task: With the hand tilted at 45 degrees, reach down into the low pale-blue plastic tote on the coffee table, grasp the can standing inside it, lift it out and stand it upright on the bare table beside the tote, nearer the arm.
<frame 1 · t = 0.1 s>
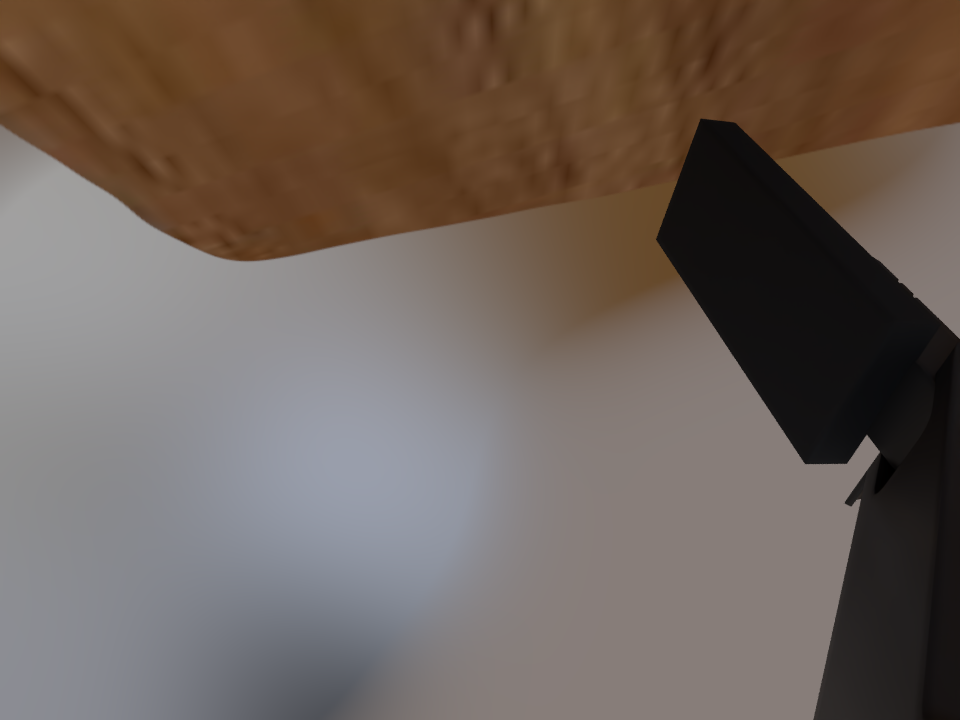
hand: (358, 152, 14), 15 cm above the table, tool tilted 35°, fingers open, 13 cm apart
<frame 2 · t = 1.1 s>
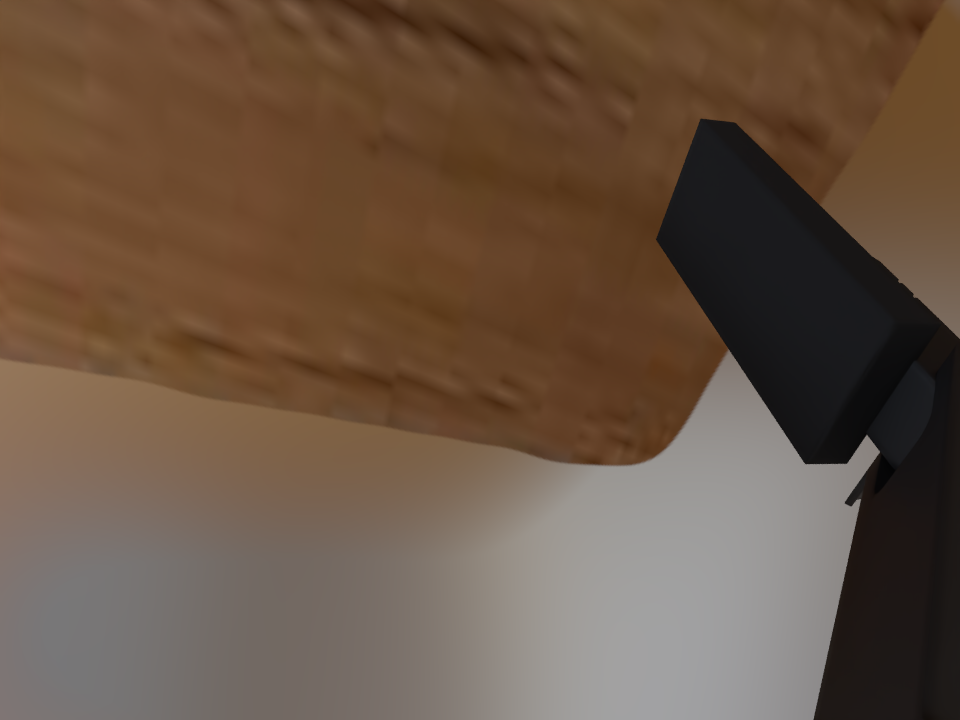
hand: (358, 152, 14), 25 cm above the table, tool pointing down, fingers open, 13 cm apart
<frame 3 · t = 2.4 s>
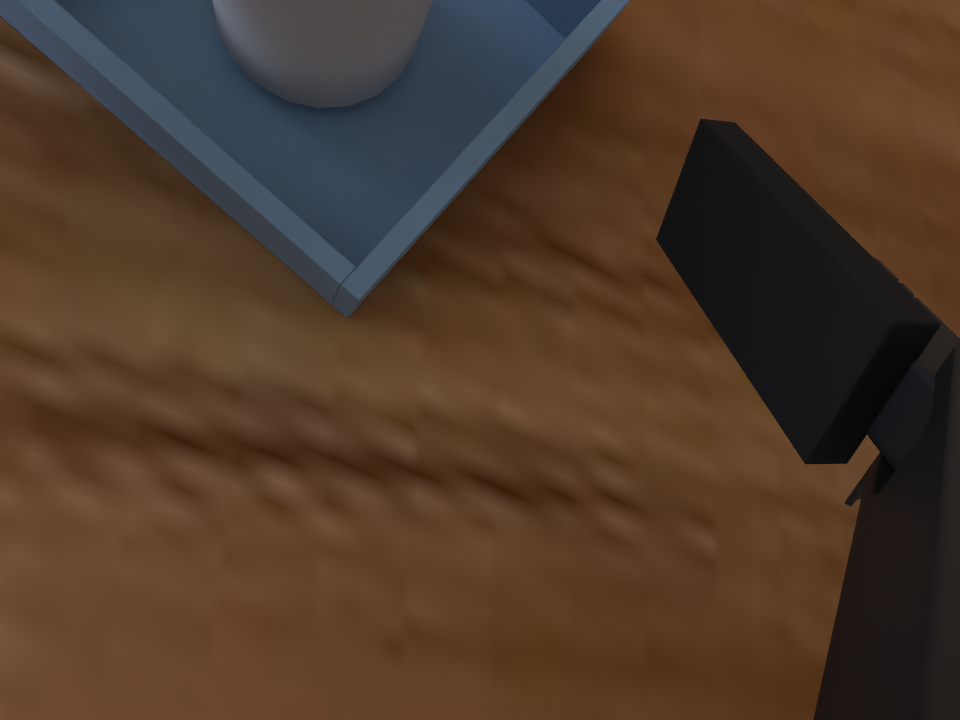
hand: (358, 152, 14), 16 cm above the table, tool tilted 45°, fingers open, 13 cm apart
tote: (316, 26, 30), on the table
can: (316, 24, 30), resting on tote
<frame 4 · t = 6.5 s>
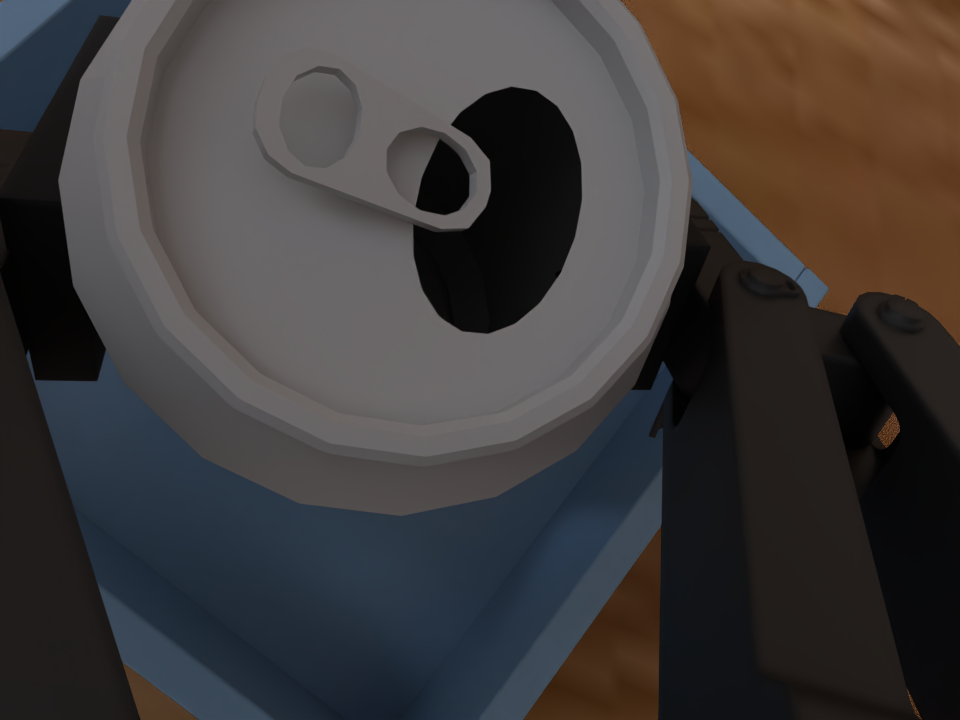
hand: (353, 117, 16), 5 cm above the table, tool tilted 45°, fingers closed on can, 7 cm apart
tote: (332, 321, 20), on the table
can: (332, 321, 20), resting on tote, touching gripper
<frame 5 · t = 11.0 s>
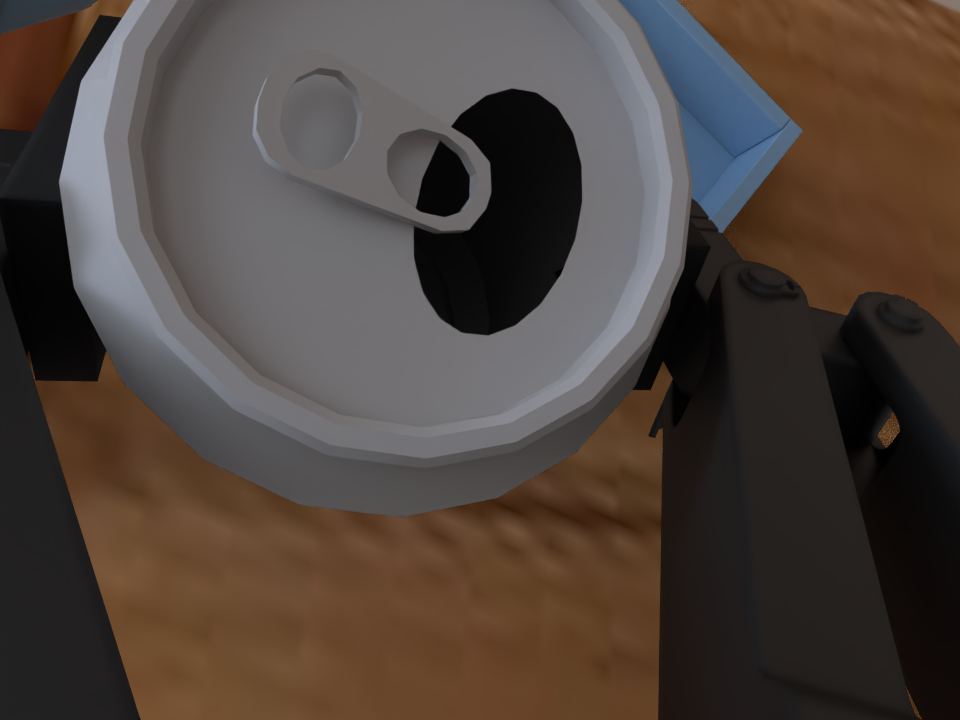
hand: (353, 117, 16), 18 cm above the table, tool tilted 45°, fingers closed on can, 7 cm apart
tote: (535, 149, 37), on the table
can: (332, 322, 20), point 14 cm above the table, touching gripper
when the fingers open (4 cm above the table, at t = 15.5 s): can stays where it is, on the table.
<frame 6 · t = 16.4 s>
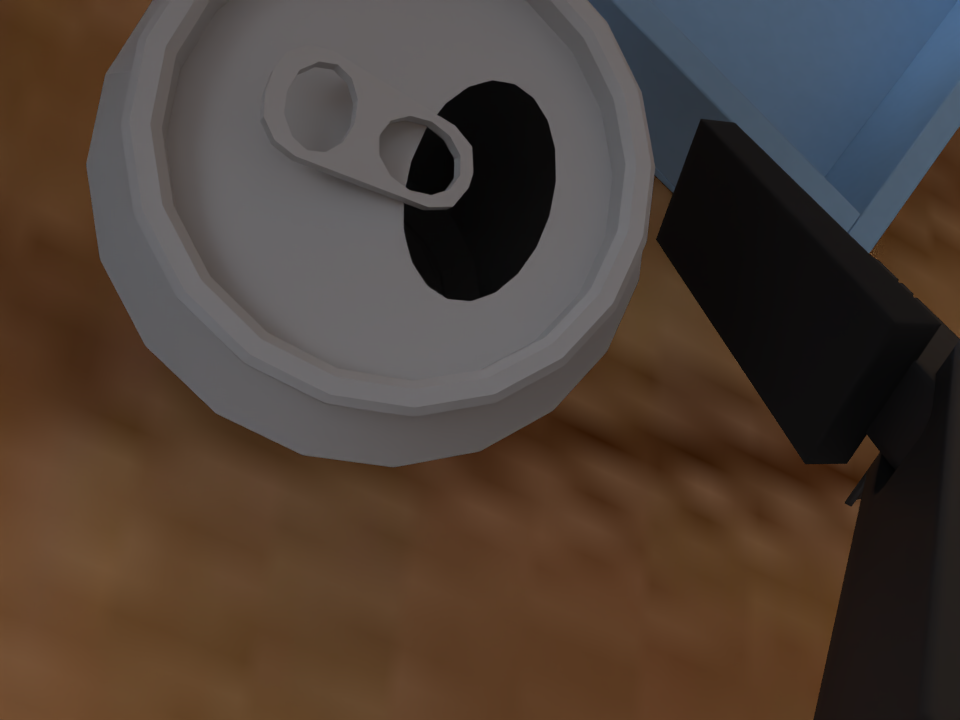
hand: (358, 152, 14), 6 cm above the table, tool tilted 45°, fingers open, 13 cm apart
can: (332, 306, 21), on the table
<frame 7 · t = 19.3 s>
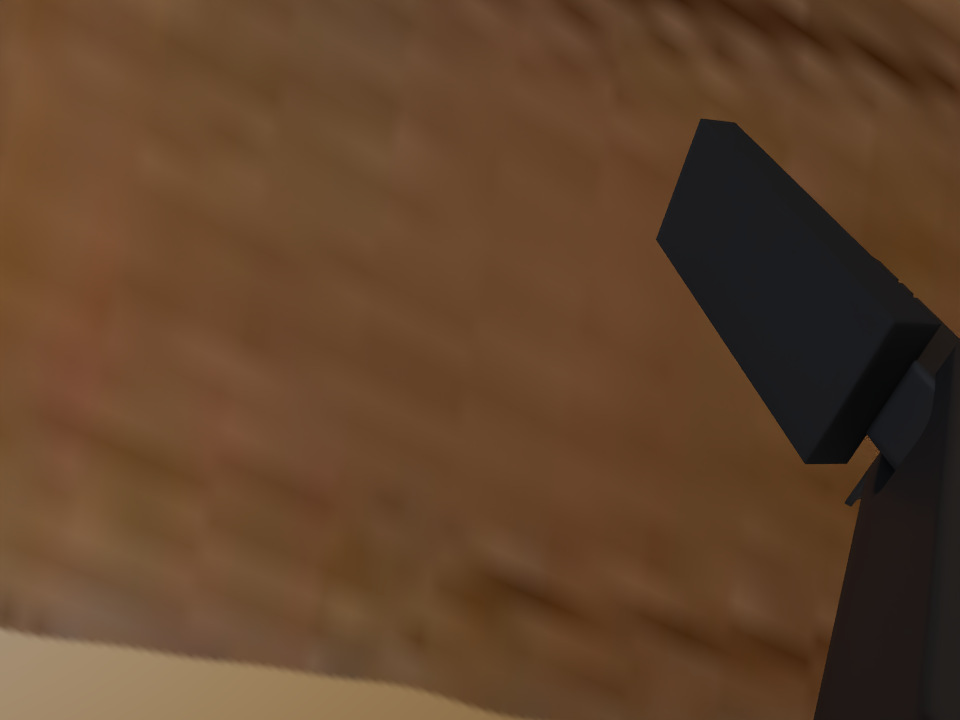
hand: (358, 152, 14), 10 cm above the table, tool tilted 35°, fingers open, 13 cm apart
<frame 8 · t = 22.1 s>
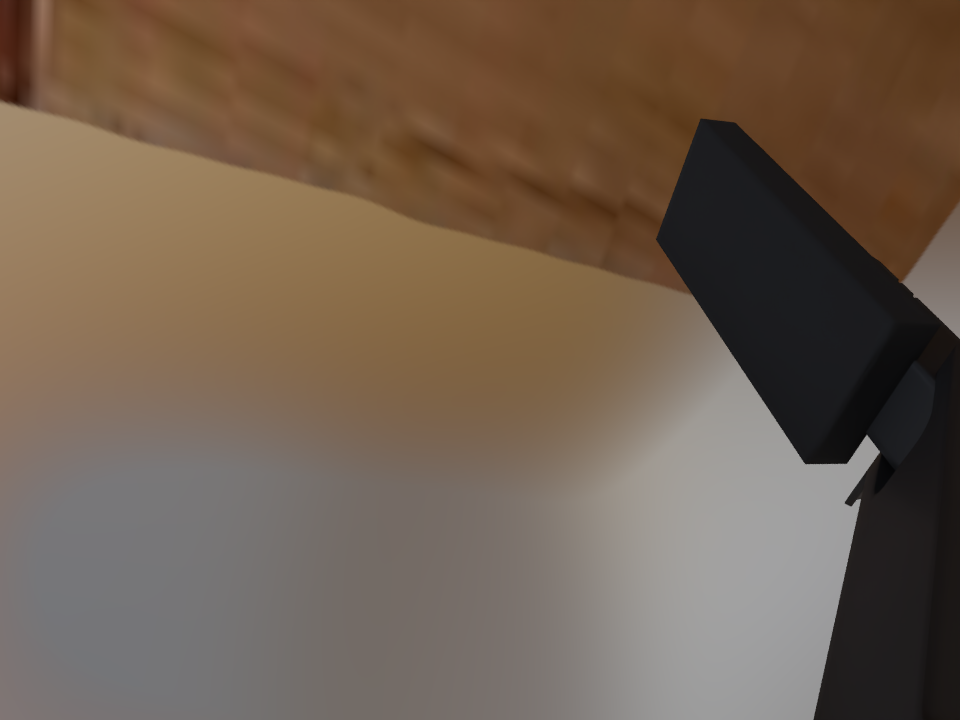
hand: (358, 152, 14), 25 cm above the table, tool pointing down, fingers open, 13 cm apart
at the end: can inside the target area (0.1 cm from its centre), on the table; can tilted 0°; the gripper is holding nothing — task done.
